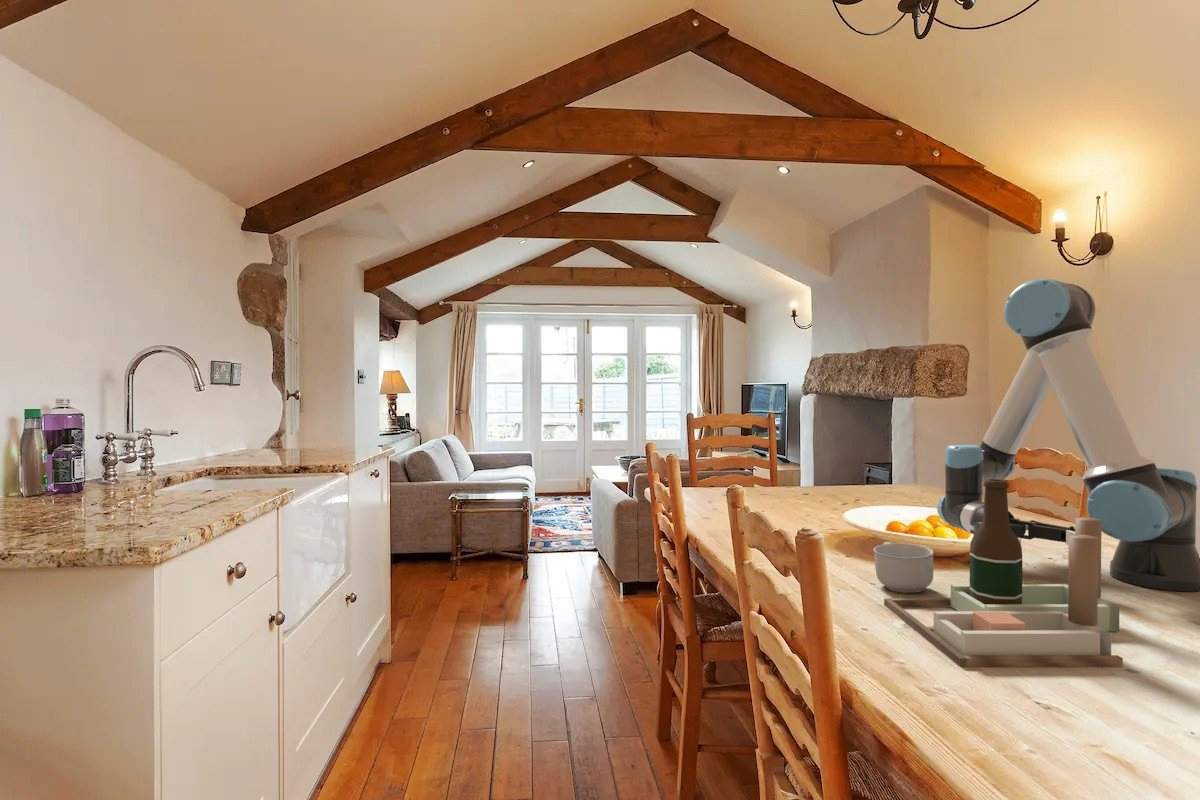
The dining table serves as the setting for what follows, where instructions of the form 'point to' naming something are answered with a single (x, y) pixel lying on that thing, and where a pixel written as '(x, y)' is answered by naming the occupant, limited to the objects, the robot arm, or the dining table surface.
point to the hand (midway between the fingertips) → (1056, 545)
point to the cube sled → (1041, 618)
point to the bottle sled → (1046, 590)
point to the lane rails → (990, 660)
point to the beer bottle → (996, 551)
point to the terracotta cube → (996, 622)
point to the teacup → (904, 566)
